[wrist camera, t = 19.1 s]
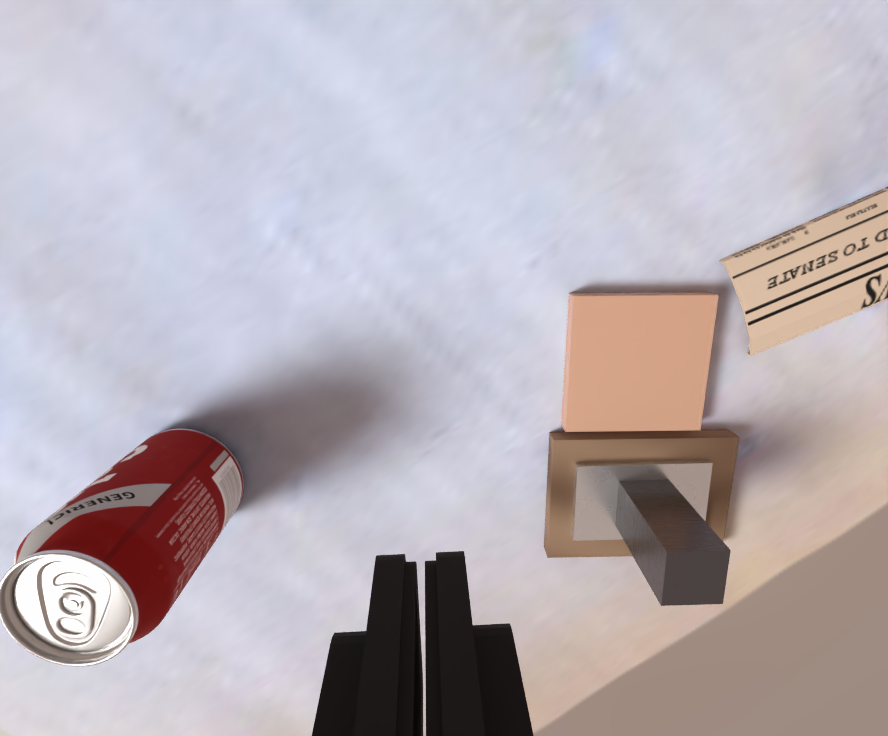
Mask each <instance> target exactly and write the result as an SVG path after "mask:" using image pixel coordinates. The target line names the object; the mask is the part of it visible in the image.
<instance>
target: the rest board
mask: <svg viewBox="0 0 888 736" xmlns="http://www.w3.org/2000/svg"><path fill="white" fill-rule="evenodd" d="M738 442H739V437H738V436H736V435H735V434H734V433H732V432H731V431H730V430H684V431H607V432H550V435H549V455H548V476H547V496H546V517H545V537H544V548H545V551H546V554H547V557H548V558H551V557H610V556H633V555H632V554H631V552H630V550H629V548H628V547H627V545H626V543H625V542H624V540H623V539H619V540H584V541H573V538H572V518H573V498H574V478H575V463H589V462H627V461H664V460H701V459H709V460H710V461H711V462H712V463H713V465H712V473H711V481H710V489H709V497H708V504H707V512H706V520H705V522H706V523H707V524H708V525H709V526H710V527H711V528H712V530H713V531H714V532H715V533H716V534H717V535H718V537H719V538H720V539H721V540H722V541H723V540H724V533H725V527H726V520H727V514H728V507H729V501H730V494H731V488H732V481H733V475H734V468H735V462H736V455H737V449H738Z"/></svg>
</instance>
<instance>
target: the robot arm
mask: <svg viewBox="0 0 888 736" xmlns="http://www.w3.org/2000/svg"><path fill="white" fill-rule="evenodd" d="M425 631H426V736H533V731H532V726H531V722H530V717H529V712H528V707H527V702H526V697H525V692H524V687H523V682H522V677H521V672H520V667H519V662H518V658H517V653H516V648H515V643H514V638H513V633H512V629H511V626H510V624H492V625H472V616H471V608H470V599H469V590H468V582H467V573H466V564H465V556H464V551H458V552H438V553H436V561H425ZM312 736H423V672H422V654H421V636H420V618H419V600H418V583H417V565H416V562H406V559H405V554H398V555H378V556H376V560H375V568H374V575H373V583H372V591H371V599H370V607H369V615H368V623H367V630H366V631H361V632H342V633H334V635H333V637H332V640H331V644H330V649H329V654H328V659H327V664H326V669H325V673H324V678H323V683H322V688H321V693H320V698H319V703H318V708H317V713H316V718H315V723H314V728H313V733H312Z"/></svg>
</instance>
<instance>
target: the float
mask: <svg viewBox="0 0 888 736" xmlns="http://www.w3.org/2000/svg"><path fill="white" fill-rule="evenodd" d="M712 465H713V463H712V462H711V461H710V460H709V459H701V460H664V461H627V462H589V463H575V478H574V498H573V518H572V538H573V541H584V540H619V539H623V540H624V542H625V543H626V545H627V547H628V548H629V550H630V552H631V554H632V555H633V557H634V559H635V561H636V562H637V564H638V566H639V568H640V569H641V571H642V573H643V575H644V576H645V578H646V580H647V582H648V583H649V585H650V587H651V589H652V590H653V592H654V594H655V596H656V597H657V599H658V601H659V603H660V604H661V606H665V605H699V604H723V598H724V591H725V585H726V578H727V571H728V564H729V557H730V549H729V548H728V547H727V546H726V545H725V543H724V542H723V541H722V540H721V539H720V538H719V537H718V535H717V534H716V533H715V532H714V531H713V530H712V528H711V527H710V526H709V525H708V524H707V523H706V522H705V520H706V512H707V504H708V497H709V489H710V481H711V473H712Z"/></svg>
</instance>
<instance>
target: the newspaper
mask: <svg viewBox="0 0 888 736" xmlns="http://www.w3.org/2000/svg"><path fill="white" fill-rule="evenodd" d="M719 262H722V263H724V265H725V268H726V270H727V272H728V274H729V276H730V278H731V280H732V283H733V285H734V288H735V291H736V294H737V296H738V299H739V302H740V304H741V307H742V310H743V314H744V318H745V322H746V326H747V330H748V335H749V339H750V346H749V348H750V352H748V353H747V354H748V355H750V356H752V355H754V354H757V353H759V352H762V351H764V350H766V349H769V348H771V347H774V346H776V345H778V344H781V343H783V342H786V341H788V340H791V339H793V338H795V337H798V336H800V335H803V334H805V333H807V332H810V331H812V330H815V329H817V328H820V327H822V326H824V325H827V324H829V323H832V322H834V321H837V320H839V319H841V318H844V317H846V316H849V315H851V314H853V313H856V312H858V311H861V310H863V309H866V308H868V307H870V306H873V305H875V304H878V303H880V302H882V301H885V300H887V299H888V187H887V188H885V189H882V190H880V191H878V192H875V193H873V194H871V195H868V196H866V197H864V198H862V199H859V200H857V201H855V202H852V203H850V204H848V205H845V206H843V207H841V208H838V209H836V210H834V211H832V212H829V213H827V214H825V215H822V216H820V217H818V218H815V219H813V220H811V221H809V222H806V223H804V224H802V225H799V226H797V227H795V228H792V229H790V230H788V231H786V232H783V233H781V234H779V235H776V236H774V237H772V238H769V239H767V240H765V241H763V242H760V243H758V244H756V245H753V246H751V247H749V248H746V249H744V250H742V251H739V252H737V253H735V254H733V255H730V256H728V257H726V258H723V259H721V260H719Z"/></svg>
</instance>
